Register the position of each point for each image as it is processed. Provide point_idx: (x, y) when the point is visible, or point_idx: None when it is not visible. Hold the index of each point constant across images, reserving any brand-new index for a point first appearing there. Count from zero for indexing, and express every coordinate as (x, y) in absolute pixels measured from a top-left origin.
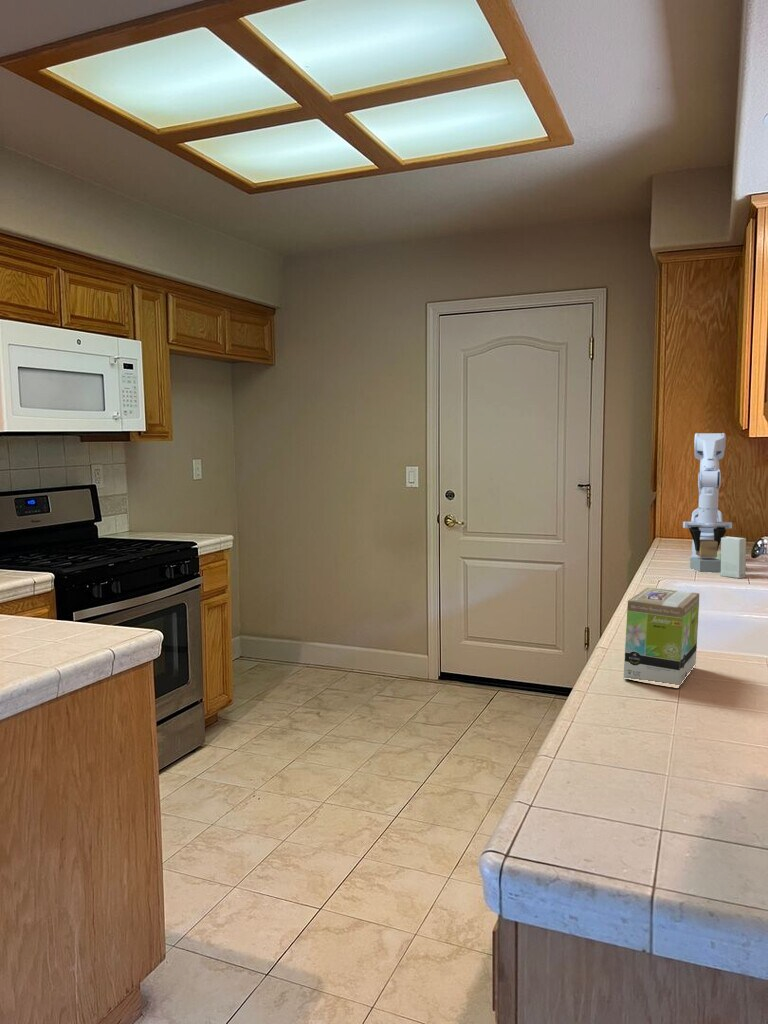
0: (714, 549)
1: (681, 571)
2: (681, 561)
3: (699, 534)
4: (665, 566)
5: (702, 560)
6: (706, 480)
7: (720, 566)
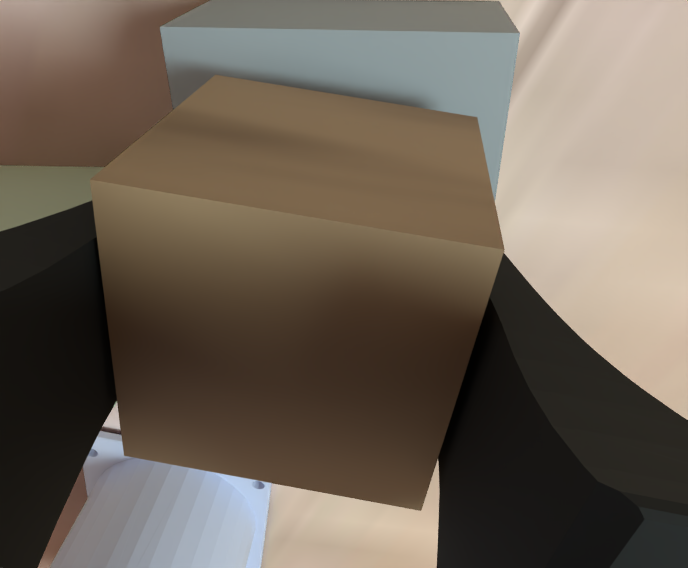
0: (221, 127)
1: (685, 100)
2: (360, 521)
3: (579, 420)
4: (643, 377)
5: (459, 68)
6: None
7: (208, 10)
